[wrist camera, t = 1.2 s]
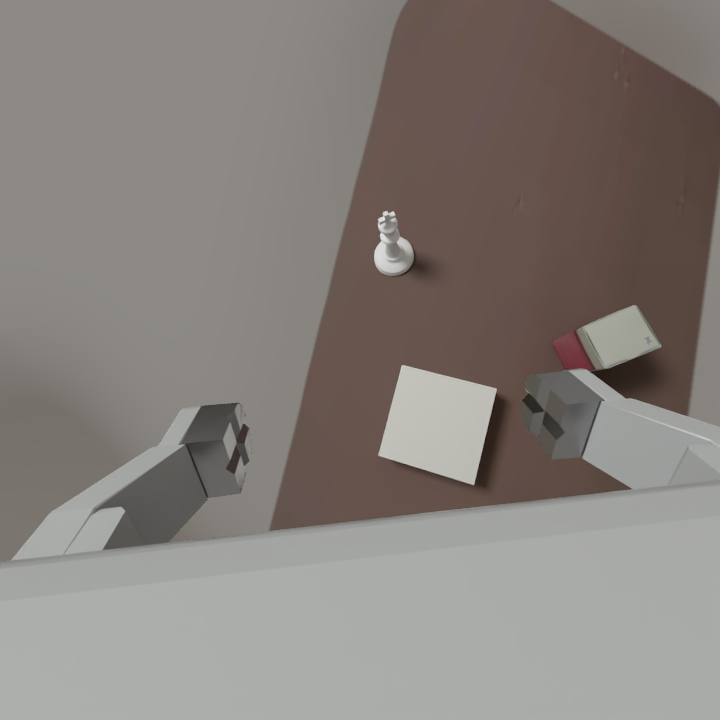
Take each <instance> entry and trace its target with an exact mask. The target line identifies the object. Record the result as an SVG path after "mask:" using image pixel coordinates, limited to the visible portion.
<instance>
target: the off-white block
mask: <svg viewBox="0 0 720 720" xmlns="http://www.w3.org/2000/svg"><path fill="white" fill-rule="evenodd" d="M496 391H497V389H496V388H492V387H488V386H484V385H480V384H476V383H472V382H468V381H464V380H460V379H456V378H452V377H448V376H444V375H440V374H436V373H432V372H428V371H424V370H420V369H416V368H412V367H408V366H404V365H402V367H401V371H400V375H399V378H398V382H397V386H396V390H395V394H394V398H393V401H392V405H391V409H390V413H389V417H388V421H387V425H386V428H385V432H384V436H383V440H382V444H381V448H380V451H379V455H378V456H381V457H384V458H388V459H391V460H394V461H397V462H401V463H404V464H407V465H410V466H414V467H417V468H420V469H423V470H426V471H430V472H433V473H436V474H439V475H443V476H446V477H449V478H452V479H456V480H459V481H462V482H465V483H468V484H472V485H474V483H475V479H476V475H477V470H478V466H479V462H480V458H481V454H482V449H483V445H484V441H485V437H486V433H487V428H488V424H489V420H490V416H491V412H492V407H493V403H494V399H495V395H496Z"/></svg>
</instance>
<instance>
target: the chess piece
mask: <svg viewBox="0 0 720 720" xmlns="http://www.w3.org/2000/svg"><path fill="white" fill-rule="evenodd" d="M378 222H379V223H378V228H379V230H380V232H381V234H380V239H381V242H380V243H379V245H378V246H377V248H376V250H375V254H374V261H375V265H376V267H377V268H378V270H379V271H380V272H382V273H383V274H385V275H388V276H397V275H401V274H403V273H405V272H406V271H407V270H408V269H409V268H410V267H411V265H412V263H413V260H414V252H413V249H412V246H411V245H410V243H409V242H408V241H407V240H405V239H404V238H401V237H400V233H399V231H398V229H397V226H398V222H397V219H396V218H395V214H394V212H391V213H389V214H388V212H387V211H385V212H384V213H383V217H381V218H379V219H378Z"/></svg>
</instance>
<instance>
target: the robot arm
mask: <svg viewBox="0 0 720 720" xmlns="http://www.w3.org/2000/svg"><path fill="white" fill-rule="evenodd" d="M525 389H526V390H527V392H528V394H527V395H526V396H525V397H524V399H523V400H522V403H521V416H522V420H523V423H524V425H525V426H526V428H527V429H528V430H529V432H531V433H533V434H535V435H537V436H539V439H538V443H539V444H540V446H541V447H542V448H543V449H544V451H545V452H546V453H547V454H548V456H549V457H550V458H551V459H563V458H575V457H583V459H584V460H586V461H588V462H589V463H591V464H593V465H594V466H596V467H597V468H599V469H601V470H602V471H604V472H606V473H607V474H609V475H611V476H612V477H614V478H616V479H617V480H619V481H620V482H622V483H624V484H625V485H627V486H629V487H630V488H632V490H623V491H615V492H606V493H597V494H588V495H580V496H571V497H562V498H553V499H545V500H536V501H527V502H519V503H510V504H501V505H492V506H483V507H474V508H466V509H457V510H448V511H439V512H430V513H422V514H413V515H404V516H395V517H386V518H378V519H369V520H361V521H352V522H343V523H335V524H326V525H318V526H309V527H301V528H292V529H283V530H275V531H266V532H258V533H250V534H241V535H231V536H222V537H213V538H204V539H195V540H186V541H177V542H169V541H170V540H171V539H172V538H173V537H174V536H175V535H176V533H177V532H178V531H179V530H180V529H181V528H182V527H183V526H184V525H185V524H186V523H187V521H188V520H189V519H190V518H191V517H192V516H193V515H194V514H195V512H197V510H198V509H199V508H200V507H201V506H202V505H203V504H204V503H205V502H206V501H207V498H211V497H218V496H225V495H232V494H240V493H241V490H242V486H243V483H244V479H245V475H246V472H245V468H244V466H245V465H246V464H247V463H248V462H249V461H250V457H251V450H252V440H251V434H250V430H249V427H247V426H246V425H245V424H243V421H244V418H245V412H244V409H243V406H242V405H241V404H240V403H230V404H217V405H206V406H205V405H204V406H194V407H185V408H183V409H181V410H180V412H179V414H178V415H177V417H176V418H175V420H174V422H173V423H172V425H171V426H170V428H169V429H168V431H167V433H166V434H165V436H164V437H163V439H162V440H161V442H160V444H159V445H158V447H153V448H150V449H148V450H147V451H145V452H144V453H142V454H141V455H139V456H138V457H136V458H134V459H133V460H131V461H130V462H128V463H127V464H125V465H124V466H122V467H121V468H119V469H117V470H116V471H115V472H113V473H112V474H110V475H108V476H107V477H105V478H104V479H102V480H100V481H99V482H97V483H96V484H94V485H93V486H91V487H90V488H88V489H86V490H85V491H83V492H82V493H80V494H79V495H77V496H76V497H74V498H72V499H71V500H69V501H68V502H66V503H65V504H63V505H62V506H60V507H59V508H57V509H56V510H54V511H52V512H51V513H50V514H49V515H48V516H47V517H46V519H45V520H44V521H43V522H42V523H41V525H40V526H39V527H38V528H37V529H36V531H35V532H34V533H33V534H32V536H31V537H30V538H29V539H28V541H27V542H26V543H25V544H24V545H23V546H22V548H21V549H20V550H19V551H18V553H17V554H16V555H15V556H14V557H13V559H12V560H11V561H3V562H0V720H720V427H718V426H715V425H712V424H709V423H705V422H703V421H699V420H696V419H693V418H690V417H687V416H684V415H681V414H678V413H675V412H672V411H669V410H666V409H663V408H660V407H657V406H654V405H651V404H648V403H644V402H641V401H638V400H635V399H632V398H630V399H626V398H624V397H623V396H622V395H620V394H619V393H618V392H616V391H615V390H614V389H612V388H611V387H610V386H608V385H607V384H605V383H604V382H603V381H601V380H600V379H599V378H597V377H596V376H595V375H593V374H592V373H591V372H589V371H588V370H586V369H582V368H579V369H572V370H564V371H558V372H549V373H541V374H532V375H529V376H528V378H527V379H526V383H525ZM168 542H169V543H168Z"/></svg>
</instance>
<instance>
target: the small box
mask: <svg viewBox="0 0 720 720" xmlns="http://www.w3.org/2000/svg"><path fill="white" fill-rule="evenodd" d="M552 344H553V346H554V348H555V350H556V352H557V354H558V356H559V358H560V360H561V362H562V363H563V365H564V367H565V369H566V370H572V369H579V368H582V369H586V370H588V371H589V372H592V371H598V370H603V369H608V368H611V367H613V366H616V365H618V364H621V363H624V362H626V361H628V360H631V359H634V358H636V357H638V356H641V355H643V354H646V353H648V352H650V351H653V350H655V349H657V348H660V347H661V344H660V343H659V341H658V339H657V338H656V336H655V334H654V332H653V331H652V329H651V327H650V326H649V324H648V323H647V321H646V319H645V318H644V317H643V315H642V313H641V312H640V310H639V309H638V307H637V306H636V305H633V306H630V307H628V308H625V309H623V310H620V311H617V312H615V313H613V314H610V315H608V316H606V317H603V318H601V319H599V320H597V321H594V322H592V323H590V324H588V325H586V326H583V327H581V328H579V329H577V330H575V331H573V332H571V333H569V334H567V335H565V336H562V337H560V338H558V339H556V340H554V341H552Z"/></svg>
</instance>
